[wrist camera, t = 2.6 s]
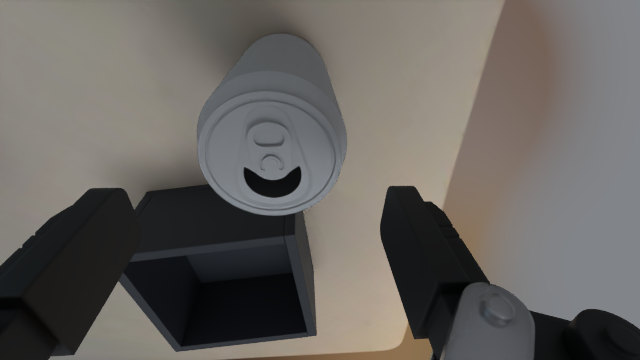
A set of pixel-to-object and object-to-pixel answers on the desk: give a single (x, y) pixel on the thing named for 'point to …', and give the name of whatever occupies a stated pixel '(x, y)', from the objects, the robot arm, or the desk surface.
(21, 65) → the desk surface
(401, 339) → the desk surface
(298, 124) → the beverage can
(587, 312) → the robot arm
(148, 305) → the bin
